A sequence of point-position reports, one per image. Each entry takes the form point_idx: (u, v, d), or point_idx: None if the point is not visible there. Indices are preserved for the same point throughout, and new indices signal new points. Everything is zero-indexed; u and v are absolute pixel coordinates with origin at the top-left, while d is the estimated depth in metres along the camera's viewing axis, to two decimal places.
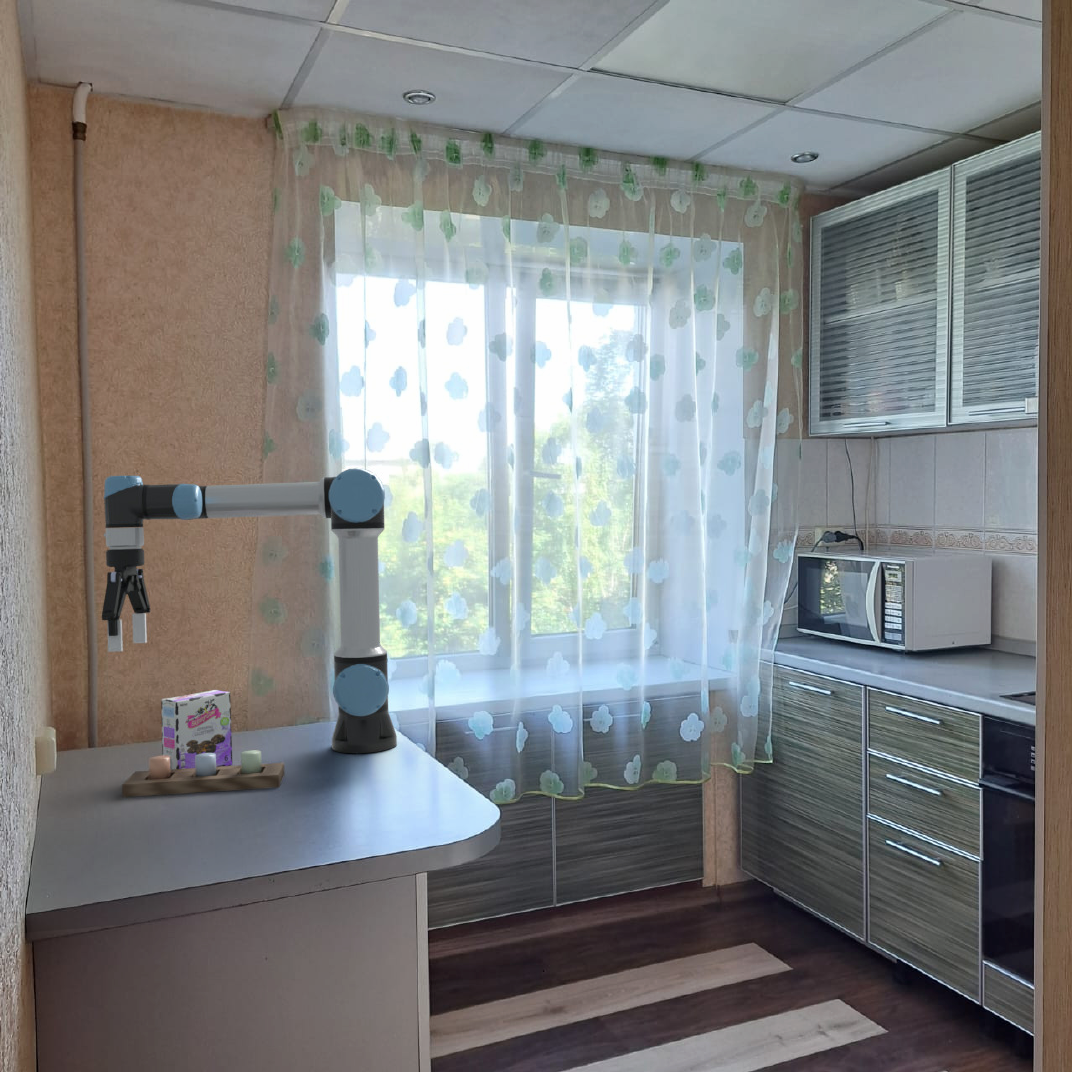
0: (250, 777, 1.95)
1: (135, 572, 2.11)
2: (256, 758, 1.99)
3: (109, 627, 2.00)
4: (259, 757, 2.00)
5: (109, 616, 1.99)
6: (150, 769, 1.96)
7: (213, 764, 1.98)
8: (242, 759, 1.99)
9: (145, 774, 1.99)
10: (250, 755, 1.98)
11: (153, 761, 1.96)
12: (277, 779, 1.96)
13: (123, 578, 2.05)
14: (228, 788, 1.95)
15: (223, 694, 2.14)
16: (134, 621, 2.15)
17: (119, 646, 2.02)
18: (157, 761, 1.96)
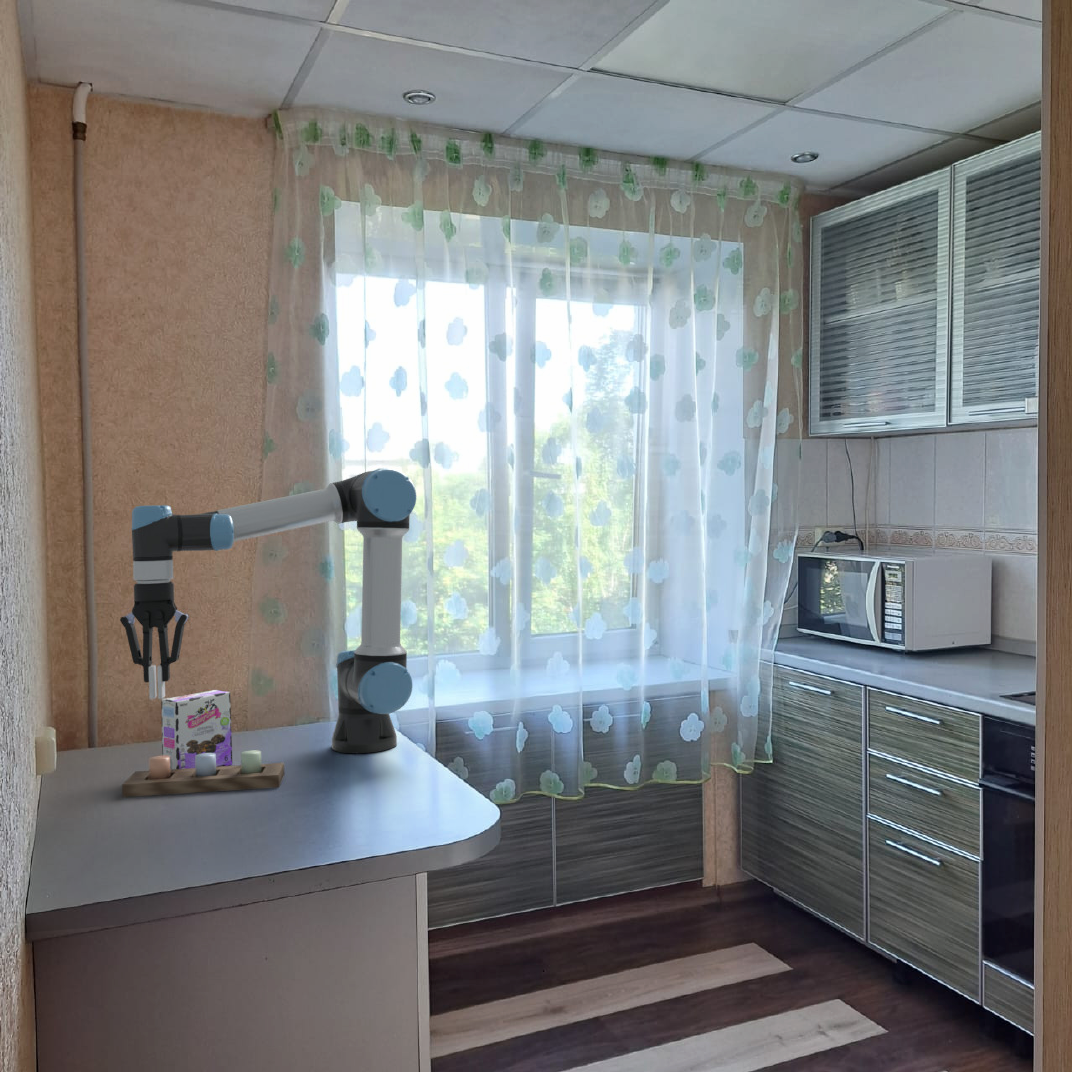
0: (250, 777, 1.95)
1: (167, 607, 1.96)
2: (256, 758, 1.99)
3: None
4: (259, 757, 2.00)
5: None
6: (150, 769, 1.96)
7: (213, 764, 1.98)
8: (242, 759, 1.99)
9: (145, 774, 1.99)
10: (250, 755, 1.98)
11: (153, 761, 1.96)
12: (277, 779, 1.96)
13: (136, 615, 1.96)
14: (228, 788, 1.95)
15: (223, 694, 2.14)
16: None
17: None
18: (157, 761, 1.96)
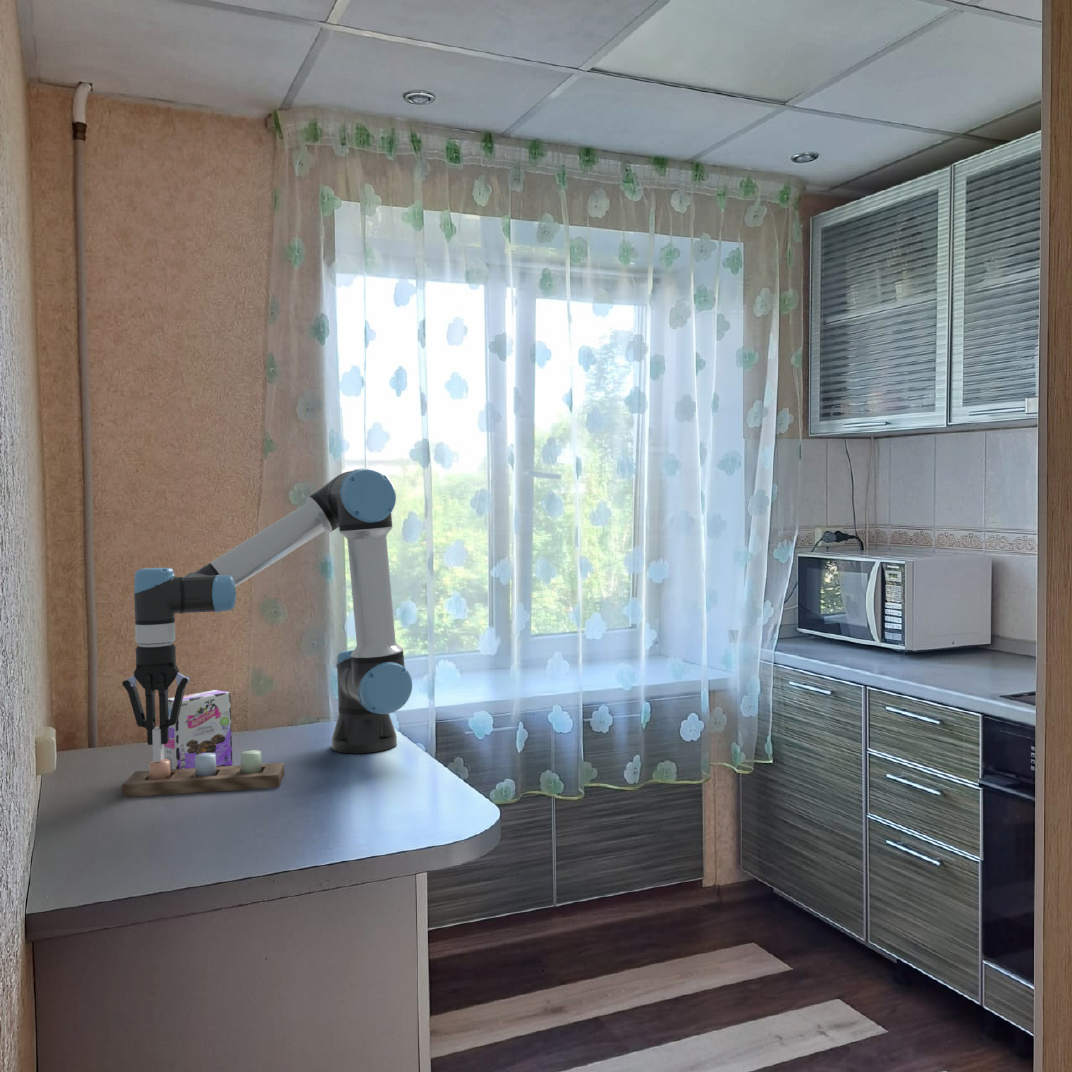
0: (250, 777, 1.95)
1: (169, 669, 1.97)
2: (256, 758, 1.99)
3: None
4: (259, 757, 2.00)
5: None
6: (150, 773, 1.96)
7: (213, 764, 1.98)
8: (242, 759, 1.99)
9: (145, 774, 1.99)
10: (250, 755, 1.98)
11: (153, 765, 1.96)
12: (277, 779, 1.96)
13: (138, 678, 1.96)
14: (228, 788, 1.95)
15: (223, 694, 2.14)
16: None
17: None
18: (157, 765, 1.96)
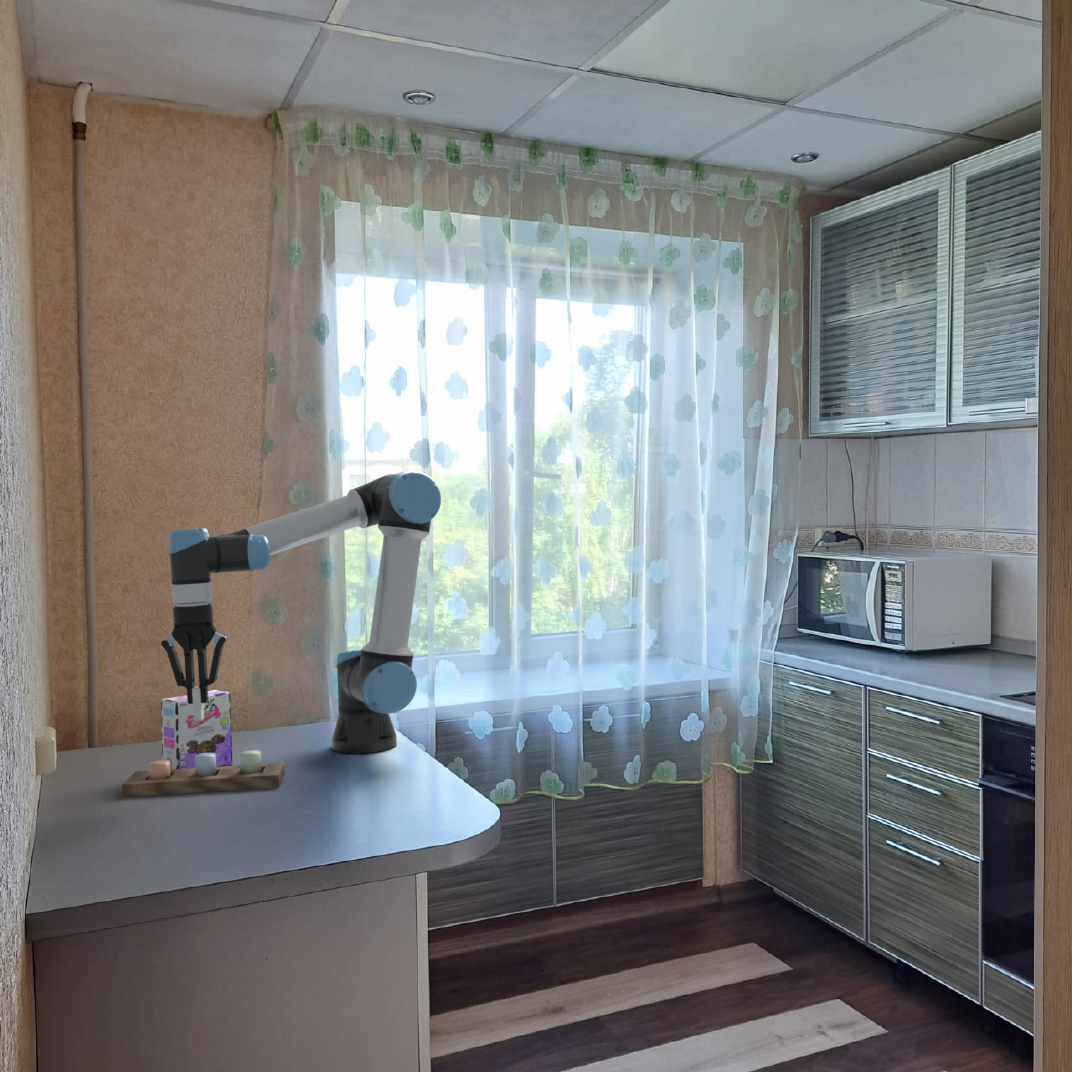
0: (250, 777, 1.95)
1: (207, 629, 1.98)
2: (256, 758, 1.99)
3: None
4: (259, 757, 2.00)
5: None
6: (150, 774, 1.96)
7: (213, 764, 1.98)
8: (242, 759, 1.99)
9: (145, 774, 1.99)
10: (250, 755, 1.98)
11: (153, 766, 1.96)
12: (277, 779, 1.96)
13: (176, 638, 1.97)
14: (228, 788, 1.95)
15: (223, 694, 2.14)
16: None
17: (194, 715, 1.98)
18: (157, 766, 1.96)
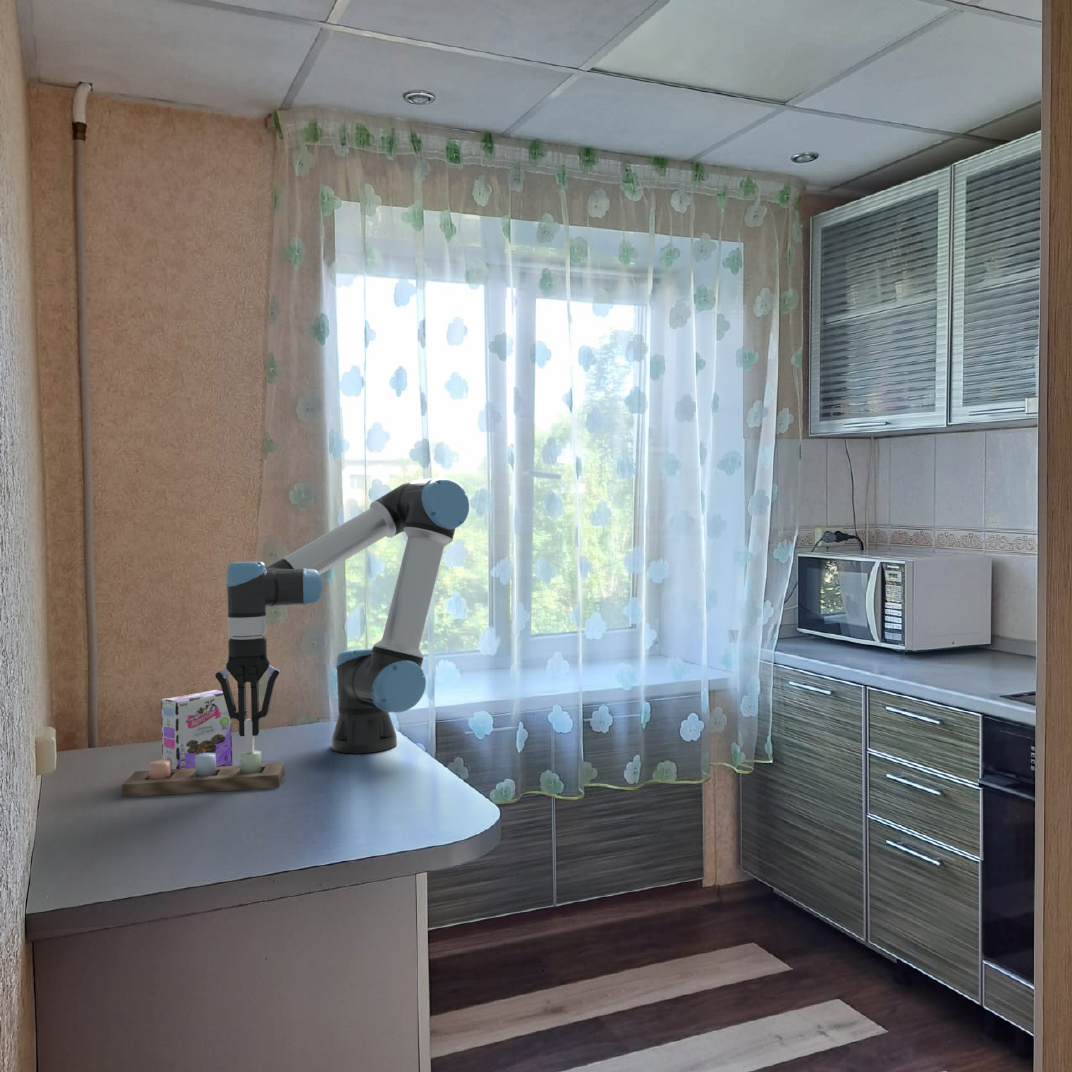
0: (250, 777, 1.95)
1: (261, 662, 1.99)
2: (256, 758, 1.99)
3: None
4: (259, 757, 2.00)
5: None
6: (150, 774, 1.96)
7: (213, 764, 1.98)
8: (242, 759, 1.99)
9: (145, 774, 1.99)
10: (250, 755, 1.98)
11: (153, 766, 1.96)
12: (277, 779, 1.96)
13: (230, 670, 1.98)
14: (228, 788, 1.95)
15: None
16: None
17: (245, 747, 1.99)
18: (157, 766, 1.96)
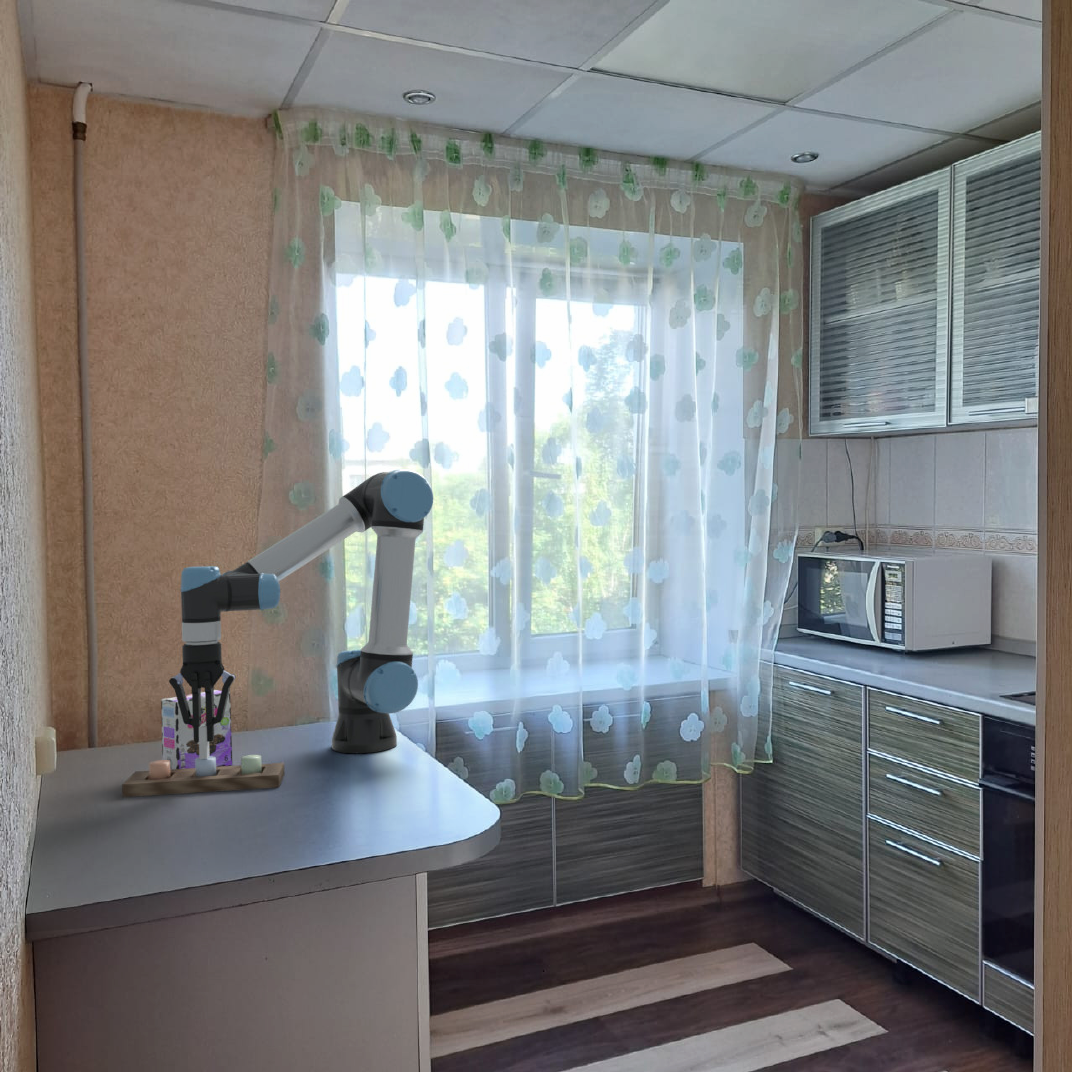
0: (250, 777, 1.95)
1: (216, 667, 1.98)
2: (256, 763, 1.99)
3: None
4: (259, 762, 2.00)
5: None
6: (150, 774, 1.96)
7: (213, 768, 1.98)
8: (242, 764, 1.99)
9: (145, 774, 1.99)
10: (250, 760, 1.98)
11: (153, 766, 1.96)
12: (277, 779, 1.96)
13: (184, 676, 1.97)
14: (228, 788, 1.95)
15: None
16: None
17: None
18: (157, 766, 1.96)
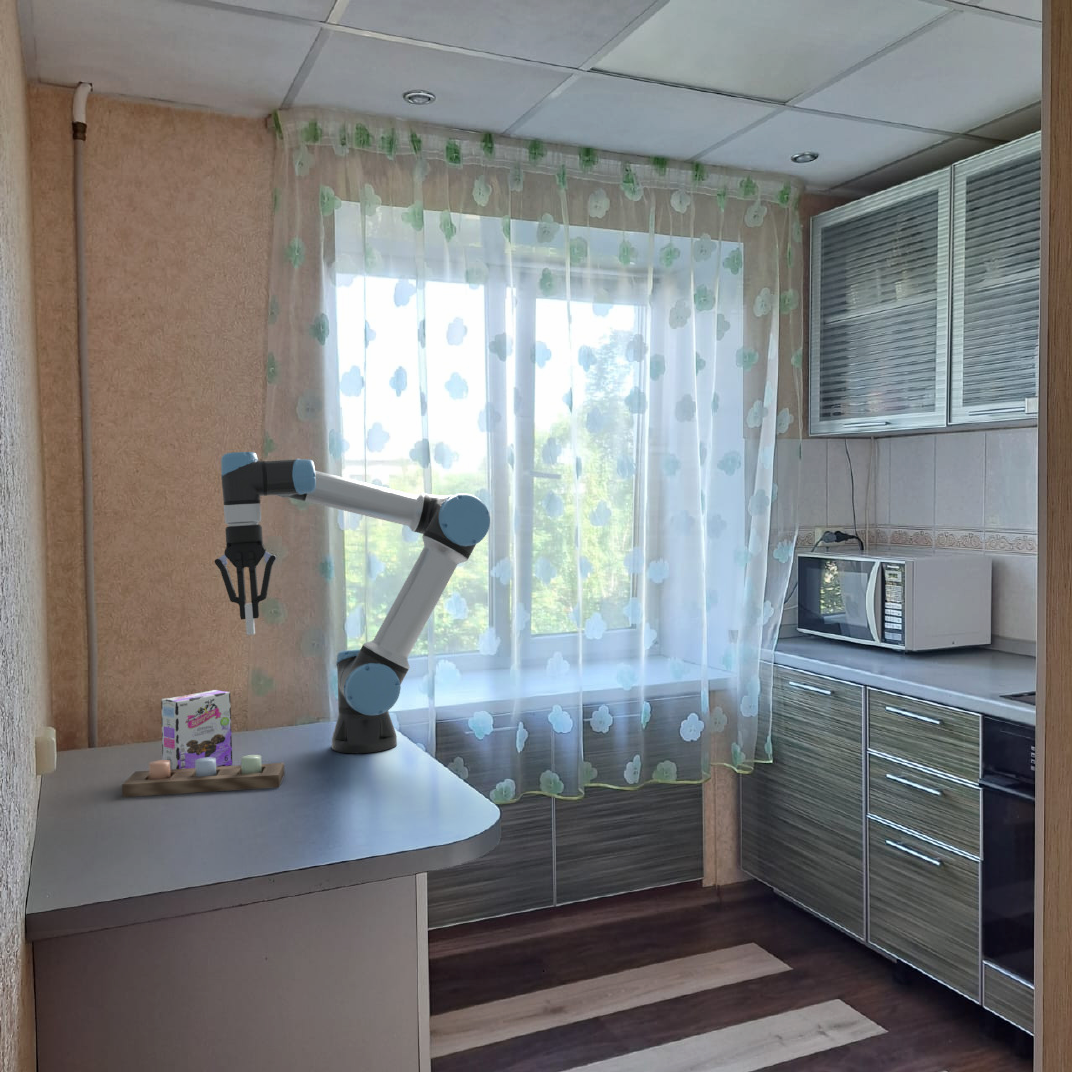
0: (250, 777, 1.95)
1: (258, 547, 2.08)
2: (256, 763, 1.99)
3: None
4: (259, 762, 2.00)
5: None
6: (150, 774, 1.96)
7: (213, 769, 1.98)
8: (242, 764, 1.99)
9: (145, 774, 1.99)
10: (250, 760, 1.98)
11: (153, 766, 1.96)
12: (277, 779, 1.96)
13: (229, 556, 2.07)
14: (228, 788, 1.95)
15: (223, 694, 2.14)
16: None
17: None
18: (157, 766, 1.96)
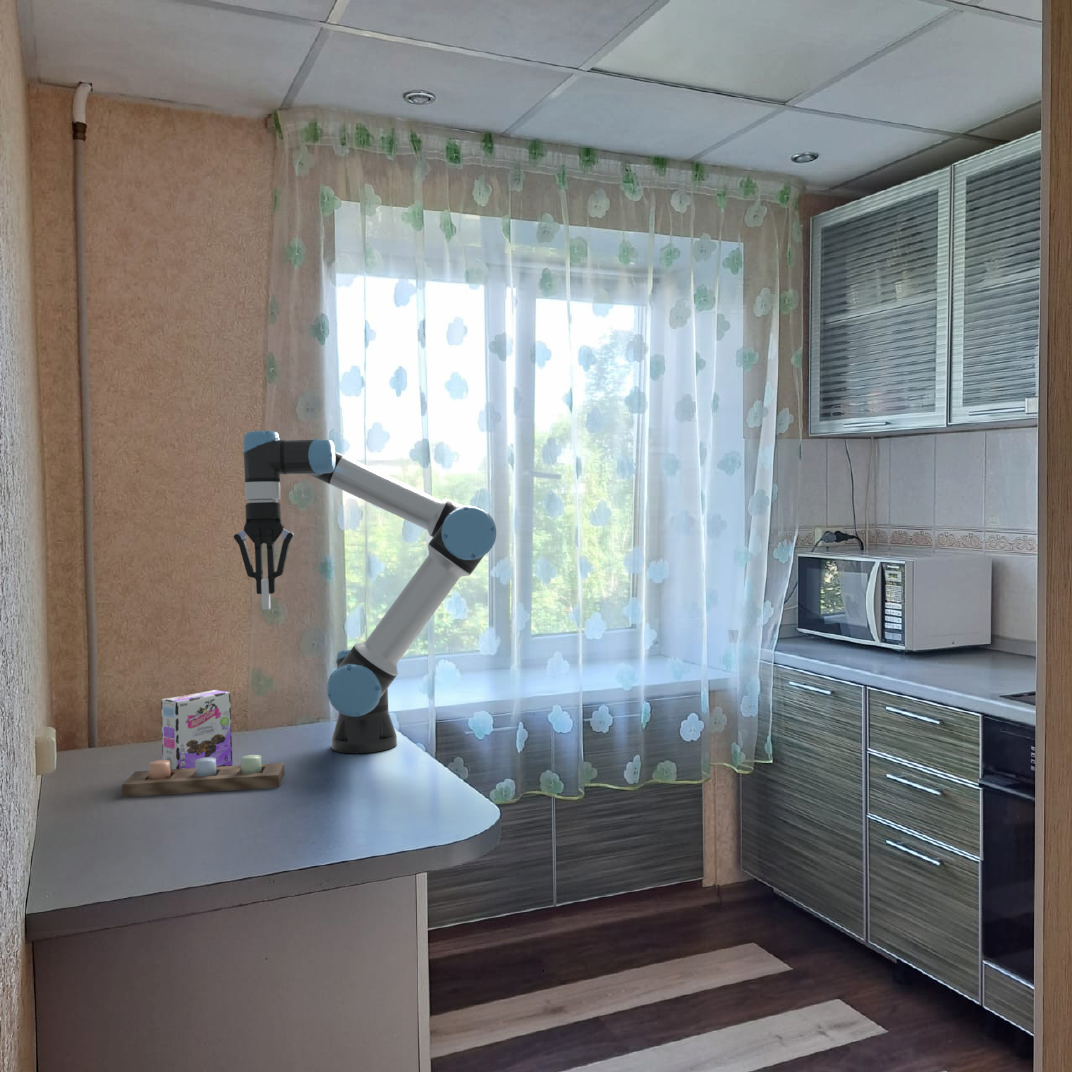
0: (250, 777, 1.95)
1: (276, 524, 2.14)
2: (256, 763, 1.99)
3: None
4: (259, 762, 2.00)
5: None
6: (150, 774, 1.96)
7: (213, 769, 1.98)
8: (242, 764, 1.99)
9: (145, 774, 1.99)
10: (250, 760, 1.98)
11: (153, 766, 1.96)
12: (277, 779, 1.96)
13: (248, 532, 2.13)
14: (228, 788, 1.95)
15: (223, 694, 2.14)
16: None
17: (262, 604, 2.14)
18: (157, 766, 1.96)
